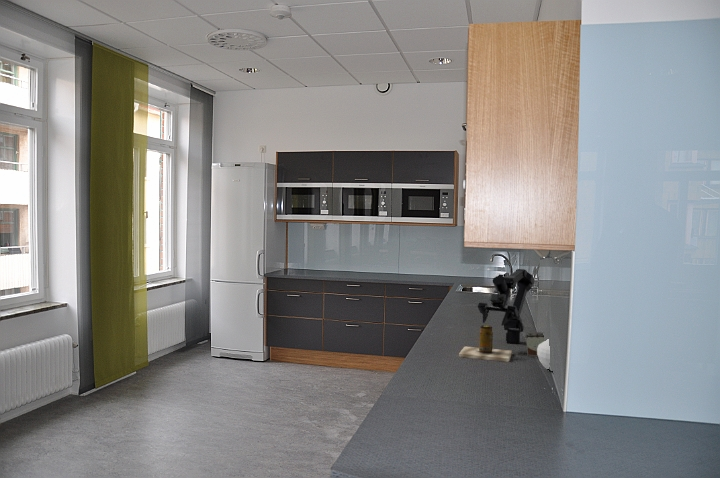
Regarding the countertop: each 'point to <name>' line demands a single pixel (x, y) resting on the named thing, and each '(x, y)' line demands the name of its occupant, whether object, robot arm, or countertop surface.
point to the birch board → (471, 353)
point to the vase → (544, 353)
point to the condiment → (486, 340)
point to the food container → (533, 342)
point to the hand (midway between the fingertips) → (492, 323)
